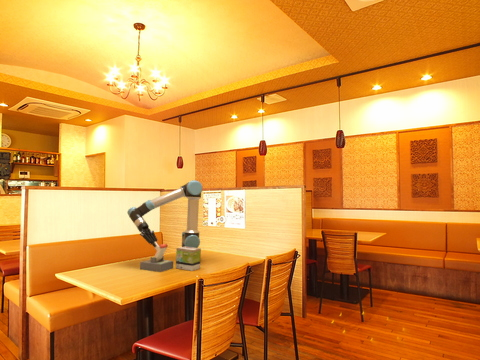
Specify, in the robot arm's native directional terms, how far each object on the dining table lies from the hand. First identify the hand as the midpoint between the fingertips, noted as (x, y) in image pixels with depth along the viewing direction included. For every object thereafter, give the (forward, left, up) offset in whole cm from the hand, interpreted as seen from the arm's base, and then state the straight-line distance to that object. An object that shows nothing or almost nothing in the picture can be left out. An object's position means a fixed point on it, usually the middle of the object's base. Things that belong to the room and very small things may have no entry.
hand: (158, 249), depth 217 cm
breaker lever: (+1, -1, -7) cm, 7 cm away
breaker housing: (+1, -1, -13) cm, 13 cm away
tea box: (-21, -1, -14) cm, 25 cm away
